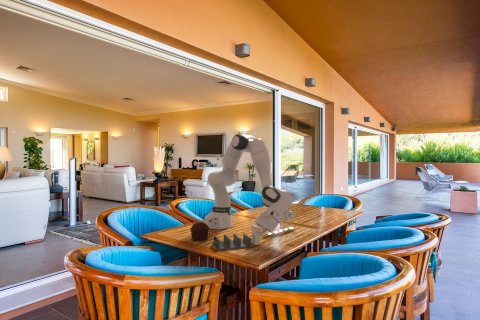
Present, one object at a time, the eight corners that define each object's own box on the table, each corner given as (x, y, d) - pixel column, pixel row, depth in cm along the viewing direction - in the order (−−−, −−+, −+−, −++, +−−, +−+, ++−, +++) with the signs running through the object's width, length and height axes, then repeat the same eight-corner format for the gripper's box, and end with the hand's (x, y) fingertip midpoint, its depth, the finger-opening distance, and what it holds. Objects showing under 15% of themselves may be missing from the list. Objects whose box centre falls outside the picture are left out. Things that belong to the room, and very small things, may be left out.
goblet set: (270, 234, 196) (270, 213, 196) (263, 233, 200) (263, 212, 200) (296, 228, 215) (297, 208, 215) (290, 226, 219) (290, 207, 219)
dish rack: (218, 250, 162) (218, 241, 162) (212, 243, 176) (212, 234, 176) (252, 247, 168) (252, 238, 168) (244, 240, 181) (244, 232, 181)
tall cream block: (255, 244, 173) (255, 227, 173) (251, 242, 178) (252, 225, 178) (260, 244, 174) (260, 226, 174) (256, 242, 179) (256, 224, 179)
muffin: (191, 237, 190) (191, 220, 190) (209, 236, 191) (209, 220, 191) (189, 242, 178) (189, 224, 178) (208, 242, 179) (208, 224, 179)
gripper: (261, 208, 188) (246, 225, 185) (275, 214, 169) (259, 233, 166) (268, 215, 190) (253, 232, 187) (283, 221, 170) (266, 241, 167)
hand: (256, 232), depth 176 cm, fingers open, 8 cm apart
